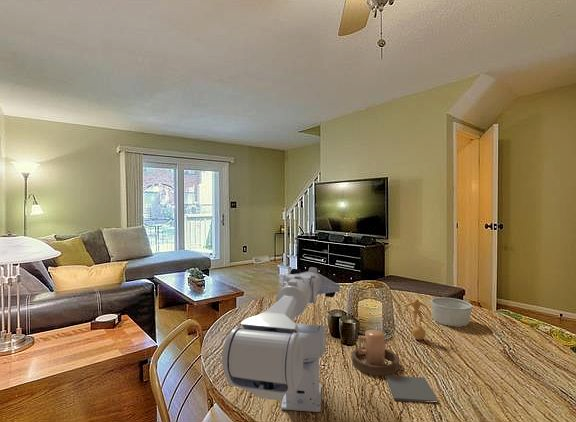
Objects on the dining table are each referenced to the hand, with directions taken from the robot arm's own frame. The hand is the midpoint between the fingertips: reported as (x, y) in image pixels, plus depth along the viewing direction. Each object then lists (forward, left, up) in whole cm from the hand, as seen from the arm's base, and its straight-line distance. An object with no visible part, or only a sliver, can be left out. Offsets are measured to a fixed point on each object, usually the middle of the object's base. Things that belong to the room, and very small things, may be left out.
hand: (316, 280), depth 88 cm
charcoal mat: (-15, -22, -20) cm, 33 cm away
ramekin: (+30, -48, -21) cm, 60 cm away
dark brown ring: (-4, -16, -20) cm, 26 cm away
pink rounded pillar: (-4, -16, -20) cm, 26 cm away
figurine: (+14, -32, -21) cm, 40 cm away
